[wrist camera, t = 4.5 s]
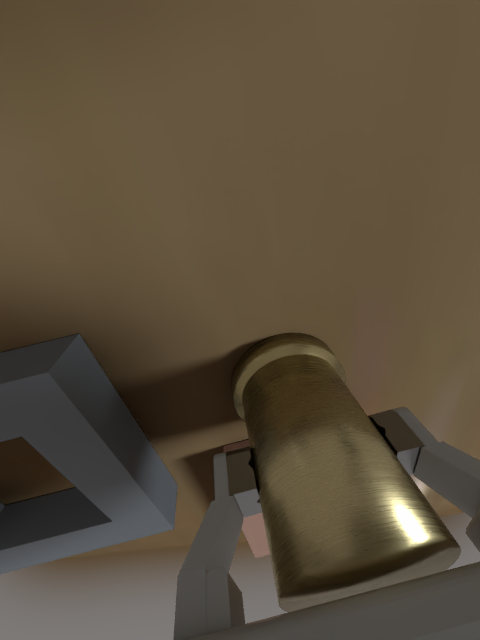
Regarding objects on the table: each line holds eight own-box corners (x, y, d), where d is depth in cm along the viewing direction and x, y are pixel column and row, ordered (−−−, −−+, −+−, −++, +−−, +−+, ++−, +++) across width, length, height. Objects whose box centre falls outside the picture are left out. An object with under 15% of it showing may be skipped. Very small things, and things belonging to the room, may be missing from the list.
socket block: (79, 333, 11) (47, 372, 8) (177, 485, 17) (174, 529, 15) (-224, 407, 10) (-335, 466, 8) (-7, 532, 17) (-38, 583, 15)
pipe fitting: (334, 320, 12) (509, 505, 5) (334, 400, 15) (447, 586, 8) (219, 349, 12) (243, 575, 5) (242, 423, 15) (277, 632, 8)
